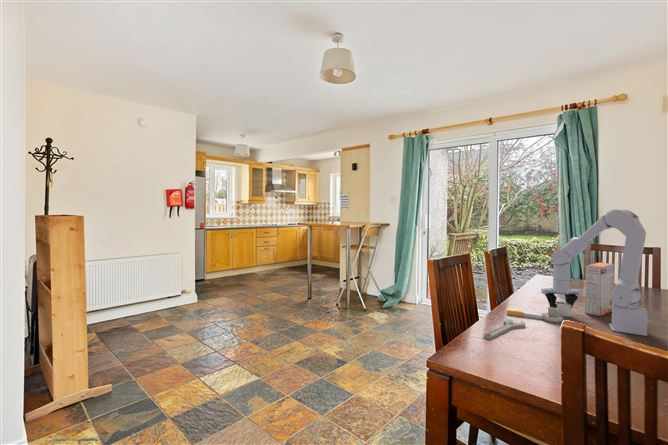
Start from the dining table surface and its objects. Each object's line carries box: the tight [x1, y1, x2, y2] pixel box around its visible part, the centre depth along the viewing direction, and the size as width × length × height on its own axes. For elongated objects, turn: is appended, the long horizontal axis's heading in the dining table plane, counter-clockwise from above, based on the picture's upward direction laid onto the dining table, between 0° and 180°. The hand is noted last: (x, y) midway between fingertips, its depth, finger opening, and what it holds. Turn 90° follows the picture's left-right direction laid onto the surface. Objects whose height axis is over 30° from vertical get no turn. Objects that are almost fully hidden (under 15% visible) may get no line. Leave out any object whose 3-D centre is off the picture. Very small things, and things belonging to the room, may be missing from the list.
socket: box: [555, 300, 572, 318], centre depth 137 cm, size 5×5×5 cm
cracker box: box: [584, 262, 615, 317], centre depth 141 cm, size 14×6×21 cm, turn 123°
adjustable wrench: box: [483, 319, 526, 340], centre depth 119 cm, size 25×6×2 cm, turn 123°
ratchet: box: [506, 306, 564, 325], centre depth 133 cm, size 20×7×5 cm, turn 57°
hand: (560, 311), depth 137 cm, fingers closed on socket, 5 cm apart
